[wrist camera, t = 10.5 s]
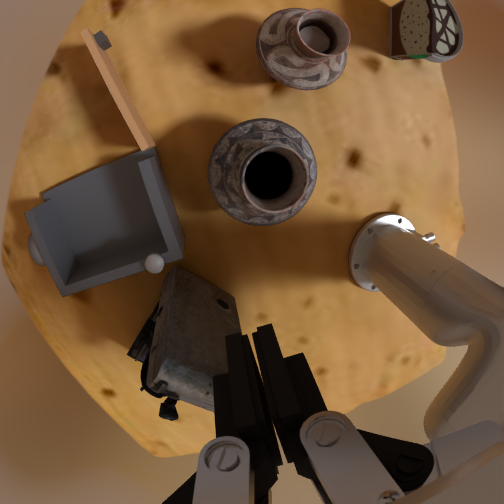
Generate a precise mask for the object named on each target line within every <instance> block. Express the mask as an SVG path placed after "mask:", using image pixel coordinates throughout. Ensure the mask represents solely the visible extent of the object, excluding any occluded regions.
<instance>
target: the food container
mask: <svg viewBox="0 0 504 504" xmlns="http://www.w3.org/2000/svg"><path fill="white" fill-rule="evenodd" d="M463 40H464V34H463V28H462V24H461V21H460V18H459V16H458V14H457V12H456V10H455V8H454V6H453V5H452V4H451V2H450V1H449V0H401V1H400V2H398V3H396V4H395V5H393V6H392V7H390V57H389V58H392V59H395V60H409V59H426V60H428V61H431V62H435V63H441V62H445V61H447V60H449V59H451V58H454V57H455V56H456V55H457V54H458V53H459V52H460V51H461V49H462V46H463Z"/></svg>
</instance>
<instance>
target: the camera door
mask: <svg viewBox="0 0 504 504" xmlns="http://www.w3.org/2000/svg"><path fill="white" fill-rule="evenodd" d="M81 34H82V36H83V38H84V41H85V43H86V45H87V47H88V49H89V51H90V53H91V55H92V57H93V59H94V61H95V63H96V65H97V67H98V69H99V71H100V73H101V75H102V77H103V79H104V81H105V83H106V85H107V87H108V89H109V91H110V93H111V95H112V96H113V98H114V100H115V102H116V104H117V106H118V108H119V110H120V112H121V114H122V115H123V117H124V119H125V121H126V123H127V125H128V127H129V128H130V130H131V132H132V134H133V136H134V138H135V139H136V141H137V143H138V145H139V147H140V149H141V150H142V151H145V150H149V149H151V148H153V147H154V146H156V144H155V142H154V140H153V139H152V137H151V135H150V133H149V131H148V129H147V128H146V126H145V124H144V122H143V120H142V118H141V117H140V115H139V113H138V111H137V109H136V107H135V105H134V103H133V102H132V100H131V98H130V96H129V94H128V92H127V90H126V88H125V86H124V85H123V83H122V81H121V79H120V77H119V75H118V73H117V71H116V69H115V67H114V65H113V63H112V61H111V60H110V58H109V56H108V54H107V52H106V49H108V48H110V47H111V46H112V45H111V43H110V41H109V39H108V38H107V36H106V35H105V34H104V33H103V32H102V31H99V32H98V33H96V34H93V33H92V32H91V31H90V30H89V29H88V28H85V29H84V30H82V31H81Z"/></svg>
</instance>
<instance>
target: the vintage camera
mask: <svg viewBox="0 0 504 504" xmlns="http://www.w3.org/2000/svg"><path fill="white" fill-rule="evenodd" d="M238 332H240V333H241V335H242V332H241V327H240V323H239V317H238V313H237V308H236V303H235V298H234V297H233V296H231V295H230V294H228V293H226V292H224V291H222V290H221V289H219V288H217V287H215V286H213V285H211V284H209V283H207V282H205V281H204V280H202V279H200V278H198V277H197V276H195V275H193V274H191V273H189V272H187V271H186V270H184V269H182V268H180V267H178V266H177V265H175V266H173V267H172V268H171V270H170V272H169V273H168V275H167V276H166V278H165V281H164V284H163V287H162V292H161V296H160V300H159V302H158V304H157V305H156V307H155V309H154V312H153V313H152V314H151V315H150V317H149V318H148V320H147V321H146V323H145V325H144V326H143V328H142V330H141V331H140V333H139V335H138V336H137V338H136V340H135V341H134V343H133V345H132V347H131V348H130V350H129V352H128V353H127V355H128V356H130V357H132V358H133V359H135V361H137V360H138V361H140V362H142V363H143V365H142V369H141V383H142V386H143V387H141V389H140V390H141V391H143V390H144V389H145V390H146V391H147V392H148V393H149V394H151V395H152V396H154V397H156V398H162V397H165V396H168V398H167V399H166V400H165V401H164V403H161V406H160V412H159V416H160V417H161V418H163V419H168V420H170V421H173V420H176V419H178V417H179V416H178V413H177V410H176V407H175V405H176V403H177V400H182V401H185V402H187V403H190V404H193V405H196V406H198V407H201V408H204V409H206V410H209V411H212V412H214V396H213V376H215V375H219V374H224V373H228V362H227V352H226V343H225V336H226V335H230V334H234V333H238Z"/></svg>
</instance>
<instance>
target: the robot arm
mask: <svg viewBox="0 0 504 504" xmlns="http://www.w3.org/2000/svg"><path fill="white" fill-rule="evenodd" d="M434 240H435V236H434V234H433V233H432V232H431V233H428V234H425V235H424V236H422V235H421V234H419V233H417V232H416V231H415V228H414V226H413V225H412V223H411V222H410V221H409V220H408V219H406V218H405V217H403V216H401V215H399V214H395V213H384V214H381V215H378V216H376V217H374V218H372V219H371V220H370V221H368V222H367V223H366V224H365V225H364V226H363V227H362V228H361V229H360V231H359V232H358V234H357V235H356V237H355V239H354V241H353V243H352V246H351V249H350V254H349V268H350V272H351V275H352V277H353V279H354V280H355V281H356V282H357V283H358V284H359V285H360V286H361V287H362V288H364V289H366V290H368V291H381V292H382V293H383V294H384V295H385V296H386V297H387V298H388V299H389V300H390V301H391V302H392V303H394V304H395V305H396V306H397V307H398V308H399V309H400V310H401V311H402V312H403V313H404V314H405V315H406V316H407V317H408V318H409V319H410V320H411V321H412V322H413V323H414V324H415V325H416V326H417V327H418V328H419V329H420V330H421V331H422V332H423V333H424V334H425V335H426V336H427V337H428V338H429V339H430V340H431V341H433V342H434V343H436V344H438V345H441V346H447V347H455V346H463V345H468V350H467V352H466V354H465V356H464V357H463V359H462V361H461V363H460V364H459V366H458V367H457V368H456V370H455V371H454V373H453V374H452V376H451V377H450V378H449V380H448V381H447V382H446V384H445V385H444V386H443V388H442V389H441V390H440V392H439V393H438V394H437V396H436V397H435V398H434V400H433V401H432V402H431V404H430V406H429V407H428V409H427V411H426V413H425V416H424V430H425V433H426V435H427V437H428V439H429V440H430V443H427V444H424V445H420V444H417V443H412V442H408V441H403V440H399V439H394V438H390V437H386V436H382V435H378V434H374V433H370V432H366V431H363V430H359V429H356V428H355V426H354V425H353V424H352V422H351V421H350V419H348V418H347V417H346V416H345V415H344V414H342V413H340V412H336V411H328V410H327V408H326V405H325V403H324V400H323V398H322V396H321V393H320V391H319V389H318V386H317V384H316V381H315V379H314V377H313V374H312V372H311V370H310V367H309V365H308V363H307V360H306V358H305V356H304V354H303V352H302V353H299V354H296V355H292V356H289V357H286V358H283V356H282V353H281V350H280V347H279V344H278V341H277V338H276V335H275V332H274V329H273V326H272V323H271V324H267V325H264V326H260V327H257V332H254V333H252V336H253V341H254V345H255V350H256V354H257V358H258V363H259V367H260V371H261V375H260V372H259V369H258V366H257V363H256V360H255V357H254V354H253V351H252V348H251V345H250V341H249V338H248V335H247V334H246V335H241V333H240V332H238V333H234V334H230V335H226V336H225V343H226V352H227V362H228V373H224V374H219V375H215V376H213V396H214V413H215V428H216V439H214V440H211V441H210V442H209V443H207V444H206V445H205V446H204V447H203V449H202V450H201V452H200V455H199V460H198V467H197V471H196V472H195V473H194V474H193V475H192V476H191V477H190V478H189V479H188V480H187V481H186V482H185V483H184V484H183V485H182V486H180V487H179V488H178V489H177V490H176V491H175V492H174V493H173V494H172V495H171V496H170V497H168V498H167V500H165V501H164V502H163V503H162V504H272V491H271V487H272V486H273V485H274V483H275V482H276V481H277V480H278V477H277V474H279V472H278V467H277V466H280V465H283V462H282V458H281V454H280V450H279V446H278V442H277V438H276V433H275V429H276V432H277V435H278V437H279V440H280V443H281V446H282V448H283V451H284V454H285V457H286V459H287V462H288V463H292V462H294V464H295V467H296V470H297V473H298V474H299V475H301V476H303V477H306V478H308V479H311V482H312V484H313V485H314V487H315V489H316V491H317V493H318V495H319V497H320V498H321V500H322V502H323V504H504V287H501V286H500V285H498V284H496V283H495V282H493V281H491V280H490V279H488V278H486V277H485V276H483V275H481V274H480V273H478V272H477V271H475V270H473V269H472V268H470V267H469V266H467V265H465V264H464V263H462V262H461V261H459V260H457V259H456V258H454V257H453V256H451V255H449V254H448V253H446V252H444V251H443V250H441V249H440V246H439V244H437V243H434V244H431V243H429V242H432V241H434ZM261 376H262V378H261ZM262 380H263V381H262ZM263 384H264V385H263ZM273 424H274V425H273ZM274 427H275V429H274Z"/></svg>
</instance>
